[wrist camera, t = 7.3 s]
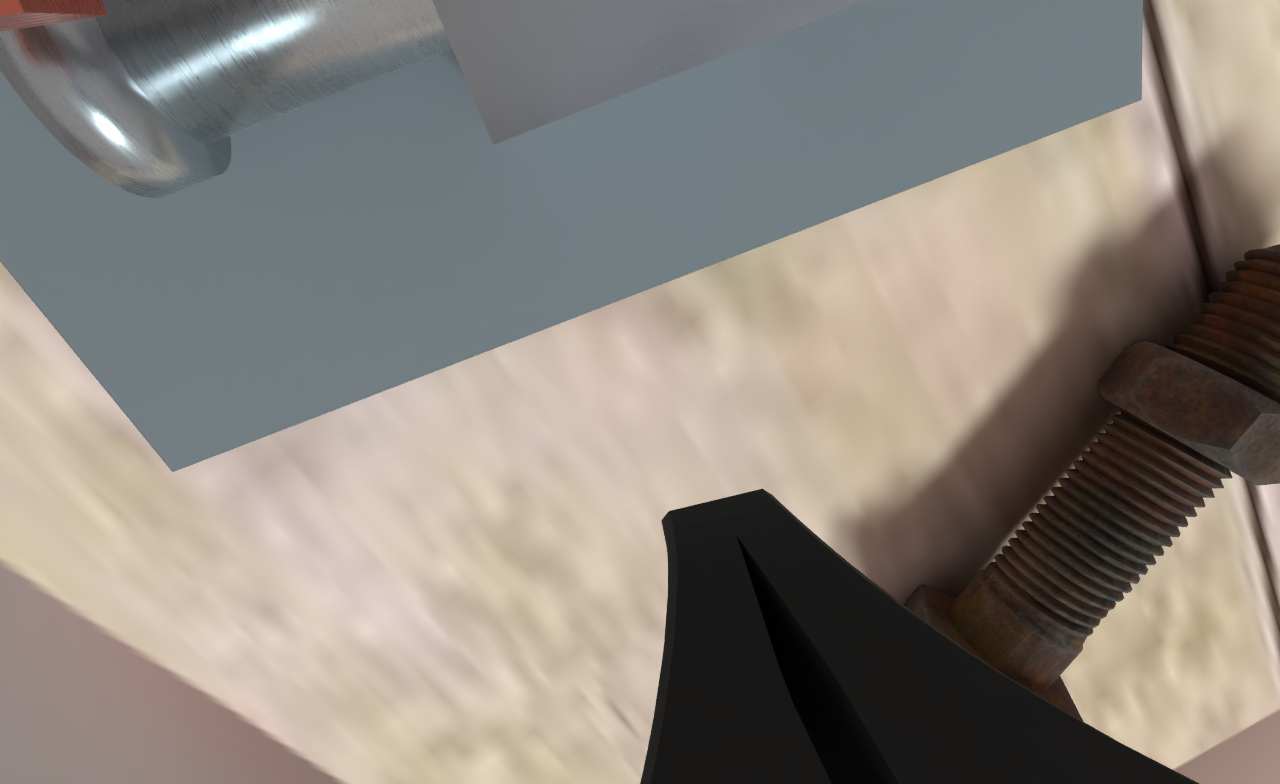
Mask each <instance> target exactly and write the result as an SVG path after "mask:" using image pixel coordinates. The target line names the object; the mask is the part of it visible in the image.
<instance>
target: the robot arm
mask: <svg viewBox="0 0 1280 784" xmlns="http://www.w3.org/2000/svg"><path fill="white" fill-rule="evenodd" d="M662 525H663V530H664V535H665V540H666V545H667V553H668V601H667V615H666V628H665V642H664V651H663V659H662V666H661V672H660V679H659V686H658V693H657V699H656V706H655V713H654V719H653V725H652V730H651V735H650V740H649V746H648V751H647V756H646V760H645V765H644V770H643V774H642V779H641V783H640V784H1199V783H1197V782H1195V781H1193V780H1191V779H1189V778H1187V777H1185V776H1184V775H1182V774H1180V773H1177V772H1176V771H1174V770H1172V769H1170V768H1168V767H1166V766H1164V765H1162V764H1160V763H1158V762H1156V761H1154V760H1152V759H1150V758H1148V757H1147V756H1145V755H1143V754H1141V753H1139V752H1137V751H1135V750H1133V749H1131V748H1129V747H1127V746H1125V745H1123V744H1121V743H1119V742H1118V741H1116V740H1114V739H1112V738H1111V737H1109V736H1107V735H1105V734H1104V733H1102V732H1100V731H1098V730H1097V729H1095V728H1093V727H1091V726H1090V725H1088V724H1086V723H1084V722H1083V721H1081V720H1079V719H1077V718H1076V717H1074V716H1072V715H1070V714H1069V713H1067V712H1065V711H1063V710H1062V709H1060V708H1058V707H1056V706H1055V705H1053V704H1051V703H1050V702H1048V701H1047V700H1045V699H1043V698H1042V697H1040V696H1038V695H1037V694H1035V693H1033V692H1032V691H1030V690H1028V689H1027V688H1025V687H1024V686H1022V685H1020V684H1019V683H1017V682H1015V681H1014V680H1012V679H1010V678H1009V677H1007V676H1006V675H1004V674H1003V673H1001V672H999V671H998V670H996V669H995V668H993V667H992V666H990V665H989V664H987V663H985V662H984V661H982V660H981V659H979V658H978V657H976V656H975V655H973V654H972V653H970V652H969V651H967V650H966V649H964V648H963V647H961V646H960V645H959V644H957V643H956V642H954V641H953V640H951V639H950V638H949V637H947V636H946V635H944V634H943V633H941V632H940V631H939V630H937V629H936V628H934V627H933V626H931V625H930V624H929V623H927V622H926V621H924V620H923V619H921V618H920V617H919V616H917V615H916V614H915V613H913V612H912V611H911V610H909V609H908V608H907V607H905V606H904V605H902V604H901V603H900V602H898V601H897V600H896V599H894V598H893V597H892V596H891V595H889V594H888V593H887V592H885V591H884V590H883V589H882V588H880V587H879V586H878V585H877V584H875V583H874V582H873V581H871V580H870V579H869V578H868V577H866V576H865V575H864V574H862V573H861V572H860V571H859V570H857V569H856V568H855V567H853V566H852V565H851V564H850V563H849V562H847V561H846V560H845V559H844V558H843V557H841V556H840V555H839V554H838V553H836V552H835V551H834V550H833V549H832V548H831V547H829V546H828V545H827V544H826V543H825V542H824V541H822V540H821V539H820V538H819V537H818V536H817V535H815V534H814V533H813V532H812V531H811V530H810V529H809V528H807V527H806V526H805V525H804V524H803V523H802V522H801V521H800V520H798V519H797V518H796V517H795V516H794V515H793V514H792V513H791V512H790V511H789V510H787V509H786V508H785V507H784V506H783V505H782V504H781V503H780V502H779V501H778V500H777V499H776V498H775V497H774V496H773V495H771V494H770V493H768V492H767V491H765V490H764V489H760V490H756V491H751V492H747V493H743V494H739V495H735V496H731V497H726V498H722V499H718V500H714V501H710V502H706V503H701V504H697V505H693V506H689V507H685V508H681V509H676V510H672V511H669V512H668V513H667V514H666V516H665V517H664V518H663V519H662Z"/></svg>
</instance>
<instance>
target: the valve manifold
mask: <svg viewBox="0 0 1280 784" xmlns="http://www.w3.org/2000/svg"><path fill="white" fill-rule="evenodd" d="M102 2H103V5H104V7H105V9H106V12H107V14H108V15H107V16H100V17H94V18H87V19H80V20H74V21H67V22H61V23H54V24H47V25H41V26H34V27H28V28H21V29H15V30H8V31H1V32H0V70H1V72H2V73H3V75H4V76H5V78H6V79H7V81H8V82H9V84H10V85H11V86H12V88H13V89H14V90H15V91H16V93H17V94H18V95H19V97H20V98H21V99H22V101H23V102H24V103H25V105H26V106H27V107H28V108H29V109H30V110H31V112H32V113H33V114H34V115H35V116H36V117H37V119H38V120H39V121H40V122H41V123H42V124H43V125H44V126H45V127H46V129H47V130H48V131H49V132H50V133H51V134H52V135H53V136H54V137H55V138H56V139H57V140H58V141H59V142H60V143H61V144H62V145H63V146H64V147H65V148H67V149H68V150H69V151H70V152H71V153H72V154H73V155H74V156H75V157H77V158H78V159H79V160H80V161H81V162H83V163H84V164H85V165H86V166H87V167H89V168H90V169H91V170H93V171H94V172H96V173H97V174H98V175H100V176H101V177H103V178H104V179H106V180H107V181H109V182H111V183H112V184H114V185H116V186H117V187H119V188H122V189H124V190H126V191H128V192H130V193H133V194H136V195H139V196H142V197H148V198H160V197H164V196H167V195H170V194H172V193H175V192H177V191H180V190H182V189H185V188H188V187H190V186H193V185H195V184H198V183H200V182H203V181H206V180H208V179H211V178H213V177H216V176H218V175H221V174H222V173H224V172H225V171H226V170H227V168H228V166H229V164H230V160H231V152H232V149H231V138H230V135H233V134H235V133H238V132H240V131H243V130H245V129H248V128H251V127H253V126H256V125H258V124H261V123H263V122H266V121H269V120H271V119H274V118H276V117H279V116H281V115H284V114H287V113H289V112H292V111H294V110H297V109H299V108H302V107H305V106H307V105H310V104H312V103H315V102H317V101H320V100H323V99H325V98H328V97H330V96H333V95H335V94H338V93H341V92H343V91H346V90H348V89H351V88H354V87H356V86H359V85H361V84H364V83H366V82H369V81H372V80H374V79H377V78H379V77H382V76H384V75H387V74H390V73H392V72H395V71H397V70H400V69H402V68H405V67H408V66H410V65H413V64H415V63H418V62H420V61H423V60H426V59H428V58H431V57H433V56H436V55H438V54H441V53H444V52H446V51H449V50H451V49H453V51H454V53H455V55H456V58H457V60H458V62H459V65H460V67H461V70H462V72H463V74H464V77H465V79H466V81H467V84H468V86H469V88H470V91H471V93H472V96H473V98H474V100H475V103H476V105H477V107H478V110H479V112H480V114H481V117H482V119H483V122H484V124H485V126H486V129H487V131H488V133H489V136H490V138H491V141H492V143H493V145H494V144H497V143H499V142H502V141H504V140H507V139H509V138H512V137H515V136H517V135H520V134H522V133H525V132H528V131H530V130H533V129H535V128H538V127H540V126H543V125H546V124H548V123H551V122H553V121H556V120H559V119H561V118H564V117H566V116H569V115H571V114H574V113H577V112H579V111H582V110H584V109H587V108H590V107H592V106H595V105H597V104H600V103H602V102H605V101H608V100H610V99H613V98H615V97H618V96H621V95H623V94H626V93H628V92H631V91H633V90H636V89H639V88H641V87H644V86H646V85H649V84H652V83H654V82H657V81H659V80H662V79H664V78H667V77H670V76H672V75H675V74H677V73H680V72H683V71H685V70H688V69H690V68H693V67H696V66H698V65H701V64H703V63H706V62H708V61H711V60H714V59H716V58H719V57H721V56H724V55H727V54H729V53H732V52H734V51H737V50H739V49H742V48H745V47H747V46H750V45H752V44H755V43H758V42H760V41H763V40H765V39H768V38H770V37H773V36H776V35H778V34H781V33H783V32H786V31H789V30H791V29H794V28H796V27H799V26H801V25H804V24H807V23H809V22H812V21H814V20H817V19H820V18H822V17H825V16H827V15H830V14H832V13H835V12H838V11H840V10H843V9H845V8H848V7H851V6H853V5H856V4H858V3H861V2H863V0H102Z"/></svg>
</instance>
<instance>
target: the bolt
mask: <svg viewBox="0 0 1280 784" xmlns="http://www.w3.org/2000/svg"><path fill="white" fill-rule="evenodd" d="M1244 257H1245V260H1244V261H1238V262H1236V263H1234V269H1235V271H1228V272H1226V276H1225V277H1226V280H1227V282H1218V285H1217V288H1218V291H1219V292H1213V293H1211V294H1209V295H1208V296H1209V300H1210V303H1204V304H1202V305H1200V309H1201V313H1202V314H1192V321H1193V324H1188V325H1184V326H1183V329H1184V333H1185V335H1175V340H1176V344H1177V345H1169V346H1166V348H1165V347H1162V346H1160V345H1157V344H1154V343H1150V342H1140V343H1136V344H1133V345H1130V346H1127V347H1126V348H1125V349H1124V350H1123V351H1122V353H1121V354H1120V355H1119V356H1118V357H1117V359H1116V360H1115V361H1114V362H1113V364H1112V365H1111V366H1110V367H1109V369H1108V370H1107V371H1106V372H1105V373H1104V375H1103V376H1102V377H1101V378H1100V380H1099V381H1098V384H1099V391H1100V396H1101V397H1102V398H1104V399H1106V400H1107V401H1109V402H1111V403H1112V404H1114V405H1116V406H1118V407H1119V408H1120V412H1121V414H1111V418H1112V421H1113V423H1112V424H1103V426H1104V429H1105V432H1106V433H1095V435H1096V437H1097V440H1098V442H1088V443H1087V444H1088V446H1089V448H1090V451H1081V452H1080V454H1081V456H1082V459H1083V460H1073V464H1074V466H1075V468H1076V469H1066V473H1067V475H1068V476H1069V478H1062V477H1060V478H1059V479H1058V480H1059V482H1060V484H1061V486H1062V487H1051V490H1052V492H1053V494H1054V496H1044V497H1043V499H1044V500H1045V502H1046V504H1037V506H1036V508H1037V510H1038V511H1039V513H1030V514H1029V516H1030V518H1031V520H1032V521H1033V522H1031V521H1025V522H1023V523H1022V525H1023V527H1024V528H1025V530H1018V529H1017V530H1016V531H1015V534H1016V535H1017V537H1018V538H1011V539H1009V540H1008V542H1009V544H1010V546H1004V547H1002V553H1003V554H997V555H996V556H995V557H994V558H995V560H996V562H991V563H989V565H988V566H987V567H986V568H985V569H984V570H981V571H979V572H978V573H977V574H976V576H975V577H974V578H973V579H972V580H971V582H970V583H969V584H968V585H967V587H966V588H965V589H964V590H963V591H962V593H961V594H960V595H959V596H958V598H955V597H953V596H950V595H947V594H945V593H942V592H940V591H937V590H934V589H932V588H929V587H927V586H924V585H919V586H918V588H917V589H916V590H915V591H914V593H913V594H912V595H911V596H910V598H909V599H908V600H907V601H906V603H905V604H904V606H905V607H907V608H908V609H909V610H911V611H912V612H913V613H915V614H916V615H917V616H919V617H920V618H921V619H923V620H924V621H926V622H927V623H929V624H930V625H931V626H933V627H934V628H936V629H937V630H939V631H940V632H941V633H943V634H944V635H946V636H947V637H949V638H950V639H951V640H953V641H954V642H956V643H957V644H959V645H960V646H961V647H963V648H964V649H966V650H967V651H969V652H970V653H972V654H973V655H975V656H976V657H978V658H979V659H981V660H982V661H984V662H985V663H987V664H989V665H990V666H992V667H993V668H995V669H996V670H998V671H999V672H1001V673H1003V674H1004V675H1006V676H1007V677H1009V678H1010V679H1012V680H1014V681H1015V682H1017V683H1019V684H1020V685H1022V686H1024V687H1025V688H1027V689H1028V690H1030V691H1032V692H1033V693H1035V694H1037V695H1038V696H1040V697H1042V698H1043V699H1045V700H1047V701H1048V702H1050V703H1051V704H1053V705H1055V706H1056V707H1058V708H1060V709H1062V710H1063V711H1065V712H1067V713H1069V714H1070V715H1072V716H1074V717H1076V718H1077V719H1079V720H1081V721H1083V720H1082V718H1081V716H1080V714H1079V712H1078V710H1077V708H1076V706H1075V704H1074V702H1073V700H1072V698H1071V696H1070V694H1069V692H1068V690H1067V688H1066V686H1065V685H1064V683H1063V681H1062V679H1061V677H1060V675H1061V674H1062V672H1063V671H1064V670H1065V669H1066V668H1067V667H1068V666H1069V665H1070V663H1071V662H1072V661H1073V660H1074V659H1075V658H1076V657H1077V656H1078V654H1079V653H1080V652H1081V651H1082V649H1083V643H1084V641H1085V639H1086V638H1087V636H1089V635H1091V634H1092V633H1093V628H1094V627H1096V626H1098V625H1099V623H1100V619H1102V618H1104V617H1106V616H1107V613H1108V610H1111V609H1113V608H1114V607H1115V605H1116V602H1115V601H1118V602H1119V601H1122V600H1123V599H1124V596H1123V593H1122V592H1125V593H1128V592H1131V591H1132V588H1131V585H1130V583H1135V584H1137V583H1138V582H1139V580H1140V577H1139V575H1138V574H1143V575H1145V574H1146V573H1147V571H1148V569H1147V567H1146V565H1155V564H1156V561H1155V558H1154V556H1153V555H1156V556H1163V554H1164V551H1163V548H1162V546H1168V547H1171V546H1172V541H1171V539H1170V536H1172V537H1179V536H1180V531H1179V529H1178V527H1177V526H1181V527H1187V526H1188V522H1187V519H1186V517H1185V516H1188V517H1195V516H1197V514H1196V511H1195V509H1194V507H1205V503H1204V500H1203V497H1207V498H1215V496H1214V494H1213V491H1212V488H1224V487H1223V484H1222V482H1221V479H1222V478H1232V475H1231V473H1230V471H1232V472H1234V473H1236V474H1237V475H1239V476H1241V477H1243V478H1245V479H1247V480H1248V481H1250V482H1252V483H1254V484H1256V485H1268V484H1278V483H1280V244H1279V245H1275V246H1271V247H1268V248H1265V249H1256V250H1250V251H1248V252H1247V253H1245V255H1244ZM1161 545H1162V546H1161Z"/></svg>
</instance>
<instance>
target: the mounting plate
mask: <svg viewBox="0 0 1280 784" xmlns="http://www.w3.org/2000/svg"><path fill="white" fill-rule="evenodd" d="M1142 18H1143V0H863V2H861V3H858V4H856V5H853V6H851V7H848V8H845V9H843V10H840V11H838V12H835V13H832V14H830V15H827V16H825V17H822V18H820V19H817V20H814V21H812V22H809V23H807V24H804V25H801V26H799V27H796V28H794V29H791V30H789V31H786V32H783V33H781V34H778V35H776V36H773V37H770V38H768V39H765V40H763V41H760V42H758V43H755V44H752V45H750V46H747V47H745V48H742V49H739V50H737V51H734V52H732V53H729V54H727V55H724V56H721V57H719V58H716V59H714V60H711V61H708V62H706V63H703V64H701V65H698V66H696V67H693V68H690V69H688V70H685V71H683V72H680V73H677V74H675V75H672V76H670V77H667V78H664V79H662V80H659V81H657V82H654V83H652V84H649V85H646V86H644V87H641V88H639V89H636V90H633V91H631V92H628V93H626V94H623V95H621V96H618V97H615V98H613V99H610V100H608V101H605V102H602V103H600V104H597V105H595V106H592V107H590V108H587V109H584V110H582V111H579V112H577V113H574V114H571V115H569V116H566V117H564V118H561V119H559V120H556V121H553V122H551V123H548V124H546V125H543V126H540V127H538V128H535V129H533V130H530V131H528V132H525V133H522V134H520V135H517V136H515V137H512V138H509V139H507V140H504V141H502V142H499V143H497V144H494V145H493V143H492V141H491V138H490V136H489V133H488V131H487V129H486V126H485V124H484V122H483V119H482V117H481V114H480V112H479V110H478V107H477V105H476V103H475V100H474V98H473V96H472V93H471V91H470V88H469V86H468V84H467V81H466V79H465V77H464V74H463V72H462V70H461V67H460V65H459V62H458V60H457V58H456V55H455V53H454V51H453V49H451V50H449V51H446V52H444V53H441V54H438V55H436V56H433V57H431V58H428V59H426V60H423V61H420V62H418V63H415V64H413V65H410V66H408V67H405V68H402V69H400V70H397V71H395V72H392V73H390V74H387V75H384V76H382V77H379V78H377V79H374V80H372V81H369V82H366V83H364V84H361V85H359V86H356V87H354V88H351V89H348V90H346V91H343V92H341V93H338V94H335V95H333V96H330V97H328V98H325V99H323V100H320V101H317V102H315V103H312V104H310V105H307V106H305V107H302V108H299V109H297V110H294V111H292V112H289V113H287V114H284V115H281V116H279V117H276V118H274V119H271V120H269V121H266V122H263V123H261V124H258V125H256V126H253V127H251V128H248V129H245V130H243V131H240V132H238V133H235V134H233V135H230V138H231V149H232V152H231V160H230V164H229V166H228V168H227V170H226V171H225V172H224V173H222V174H221V175H218V176H216V177H213V178H211V179H208V180H206V181H203V182H200V183H198V184H195V185H193V186H190V187H188V188H185V189H182V190H180V191H177V192H175V193H172V194H170V195H167V196H164V197H160V198H148V197H142V196H139V195H136V194H133V193H130V192H128V191H126V190H124V189H122V188H119V187H117V186H116V185H114V184H112V183H111V182H109V181H107V180H106V179H104V178H103V177H101V176H100V175H98V174H97V173H96V172H94V171H93V170H91V169H90V168H89V167H87V166H86V165H85V164H84V163H83V162H81V161H80V160H79V159H78V158H77V157H75V156H74V155H73V154H72V153H71V152H70V151H69V150H68V149H67V148H65V147H64V146H63V145H62V144H61V143H60V142H59V141H58V140H57V139H56V138H55V137H54V136H53V135H52V134H51V133H50V132H49V131H48V130H47V129H46V127H45V126H44V125H43V124H42V123H41V122H40V121H39V120H38V119H37V117H36V116H35V115H34V114H33V113H32V112H31V110H30V109H29V108H28V107H27V106H26V105H25V103H24V102H23V101H22V99H21V98H20V97H19V95H18V94H17V93H16V91H15V90H14V89H13V88H12V86H11V85H10V84H9V82H8V81H7V79H6V78H5V76H4V75H3V73H2V72H1V70H0V262H1V263H2V264H3V265H4V266H5V268H6V269H7V270H8V271H9V273H10V274H11V275H12V276H13V277H14V279H15V280H16V281H17V282H18V284H19V285H20V286H21V287H22V288H23V290H24V291H25V292H26V293H27V295H28V296H29V297H30V298H31V300H32V301H33V302H34V303H35V304H36V306H37V307H38V308H39V309H40V311H41V312H42V313H43V314H44V315H45V317H46V318H47V319H48V320H49V322H50V323H51V324H52V325H53V326H54V328H55V329H56V330H57V331H58V333H59V334H60V335H61V336H62V337H63V339H64V340H65V341H66V342H67V344H68V345H69V346H70V347H71V348H72V350H73V351H74V352H75V353H76V355H77V356H78V357H79V358H80V359H81V361H82V362H83V363H84V364H85V366H86V367H87V368H88V369H89V370H90V372H91V373H92V374H93V375H94V377H95V378H96V379H97V380H98V381H99V383H100V384H101V385H102V386H103V388H104V389H105V390H106V391H107V392H108V394H109V395H110V396H111V397H112V399H113V400H114V401H115V402H116V403H117V405H118V406H119V407H120V408H121V410H122V411H123V412H124V413H125V414H126V416H127V417H128V418H129V419H130V421H131V422H132V423H133V424H134V425H135V427H136V428H137V429H138V430H139V432H140V433H141V434H142V435H143V437H144V438H145V439H146V440H147V441H148V443H149V444H150V445H151V446H152V448H153V449H154V450H155V451H156V452H157V454H158V455H159V456H160V457H161V459H162V460H163V461H164V462H165V463H166V465H167V466H168V467H169V468H170V470H171V471H172V472H174V471H177V470H179V469H182V468H185V467H187V466H190V465H192V464H195V463H198V462H200V461H203V460H205V459H208V458H211V457H213V456H216V455H218V454H221V453H224V452H226V451H229V450H231V449H234V448H237V447H239V446H242V445H244V444H247V443H250V442H252V441H255V440H257V439H260V438H263V437H265V436H268V435H270V434H273V433H276V432H278V431H281V430H283V429H286V428H289V427H291V426H294V425H296V424H299V423H302V422H304V421H307V420H309V419H312V418H315V417H317V416H320V415H322V414H325V413H328V412H330V411H333V410H335V409H338V408H341V407H343V406H346V405H348V404H351V403H354V402H356V401H359V400H361V399H364V398H367V397H369V396H372V395H374V394H377V393H380V392H382V391H385V390H387V389H390V388H393V387H395V386H398V385H401V384H403V383H406V382H408V381H411V380H414V379H416V378H419V377H421V376H424V375H427V374H429V373H432V372H434V371H437V370H440V369H442V368H445V367H447V366H450V365H453V364H455V363H458V362H460V361H463V360H466V359H468V358H471V357H473V356H476V355H479V354H481V353H484V352H486V351H489V350H492V349H494V348H497V347H499V346H502V345H505V344H507V343H510V342H512V341H515V340H518V339H520V338H523V337H525V336H528V335H531V334H533V333H536V332H538V331H541V330H544V329H546V328H549V327H551V326H554V325H557V324H559V323H562V322H564V321H567V320H570V319H572V318H575V317H577V316H580V315H583V314H585V313H588V312H590V311H593V310H596V309H598V308H601V307H603V306H606V305H609V304H611V303H614V302H617V301H619V300H622V299H624V298H627V297H630V296H632V295H635V294H637V293H640V292H643V291H645V290H648V289H650V288H653V287H656V286H658V285H661V284H663V283H666V282H669V281H671V280H674V279H676V278H679V277H682V276H684V275H687V274H689V273H692V272H695V271H697V270H700V269H702V268H705V267H708V266H710V265H713V264H715V263H718V262H721V261H723V260H726V259H728V258H731V257H734V256H736V255H739V254H741V253H744V252H747V251H749V250H752V249H754V248H757V247H760V246H762V245H765V244H767V243H770V242H773V241H775V240H778V239H780V238H783V237H786V236H788V235H791V234H793V233H796V232H799V231H801V230H804V229H806V228H809V227H812V226H814V225H817V224H819V223H822V222H825V221H827V220H830V219H833V218H835V217H838V216H840V215H843V214H846V213H848V212H851V211H853V210H856V209H859V208H861V207H864V206H866V205H869V204H872V203H874V202H877V201H879V200H882V199H885V198H887V197H890V196H892V195H895V194H898V193H900V192H903V191H905V190H908V189H911V188H913V187H916V186H918V185H921V184H924V183H926V182H929V181H931V180H934V179H937V178H939V177H942V176H944V175H947V174H950V173H952V172H955V171H957V170H960V169H963V168H965V167H968V166H970V165H973V164H976V163H978V162H981V161H983V160H986V159H989V158H991V157H994V156H996V155H999V154H1002V153H1004V152H1007V151H1009V150H1012V149H1015V148H1017V147H1020V146H1022V145H1025V144H1028V143H1030V142H1033V141H1035V140H1038V139H1041V138H1043V137H1046V136H1049V135H1051V134H1054V133H1056V132H1059V131H1062V130H1064V129H1067V128H1069V127H1072V126H1075V125H1077V124H1080V123H1082V122H1085V121H1088V120H1090V119H1093V118H1095V117H1098V116H1101V115H1103V114H1106V113H1108V112H1111V111H1114V110H1116V109H1119V108H1121V107H1124V106H1127V105H1129V104H1132V103H1134V102H1137V101H1140V100H1141V98H1142Z"/></svg>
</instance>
